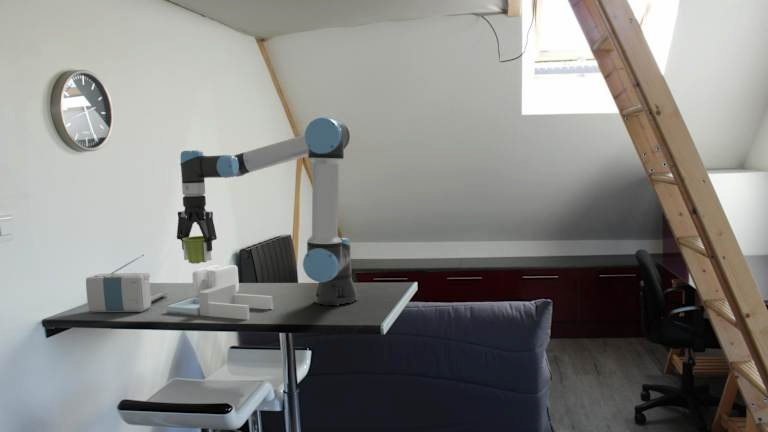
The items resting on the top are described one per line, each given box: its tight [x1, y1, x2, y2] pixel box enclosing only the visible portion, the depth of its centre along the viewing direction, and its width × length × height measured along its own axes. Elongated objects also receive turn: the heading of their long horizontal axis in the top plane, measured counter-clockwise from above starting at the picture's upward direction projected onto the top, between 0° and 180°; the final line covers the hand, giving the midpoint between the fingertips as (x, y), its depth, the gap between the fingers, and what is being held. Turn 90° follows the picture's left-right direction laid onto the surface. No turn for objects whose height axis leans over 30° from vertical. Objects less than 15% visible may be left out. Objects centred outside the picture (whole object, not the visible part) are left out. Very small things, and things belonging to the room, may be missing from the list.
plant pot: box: [182, 235, 208, 265], centre depth 205 cm, size 9×9×9 cm
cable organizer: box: [191, 264, 240, 298], centre depth 227 cm, size 15×11×12 cm
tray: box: [166, 297, 201, 317], centre depth 208 cm, size 13×13×2 cm
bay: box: [198, 284, 274, 321], centre depth 202 cm, size 20×14×8 cm
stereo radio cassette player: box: [85, 254, 152, 314], centre depth 210 cm, size 21×8×20 cm, turn 82°
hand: (197, 259), depth 205 cm, fingers closed on plant pot, 8 cm apart
